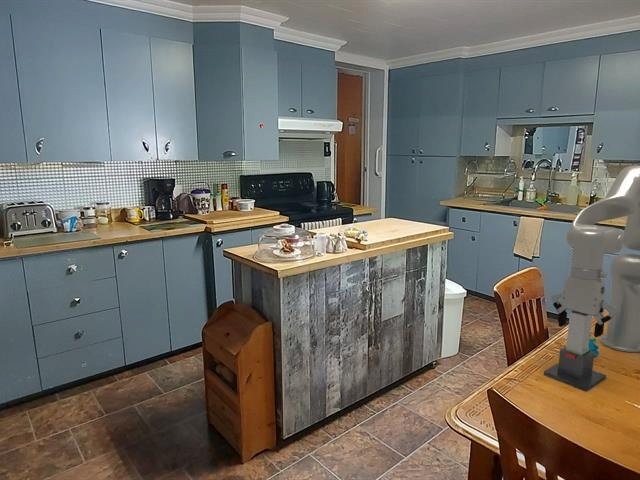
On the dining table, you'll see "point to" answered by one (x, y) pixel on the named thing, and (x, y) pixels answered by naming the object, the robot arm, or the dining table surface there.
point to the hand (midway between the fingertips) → (579, 330)
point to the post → (579, 333)
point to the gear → (593, 346)
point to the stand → (575, 370)
